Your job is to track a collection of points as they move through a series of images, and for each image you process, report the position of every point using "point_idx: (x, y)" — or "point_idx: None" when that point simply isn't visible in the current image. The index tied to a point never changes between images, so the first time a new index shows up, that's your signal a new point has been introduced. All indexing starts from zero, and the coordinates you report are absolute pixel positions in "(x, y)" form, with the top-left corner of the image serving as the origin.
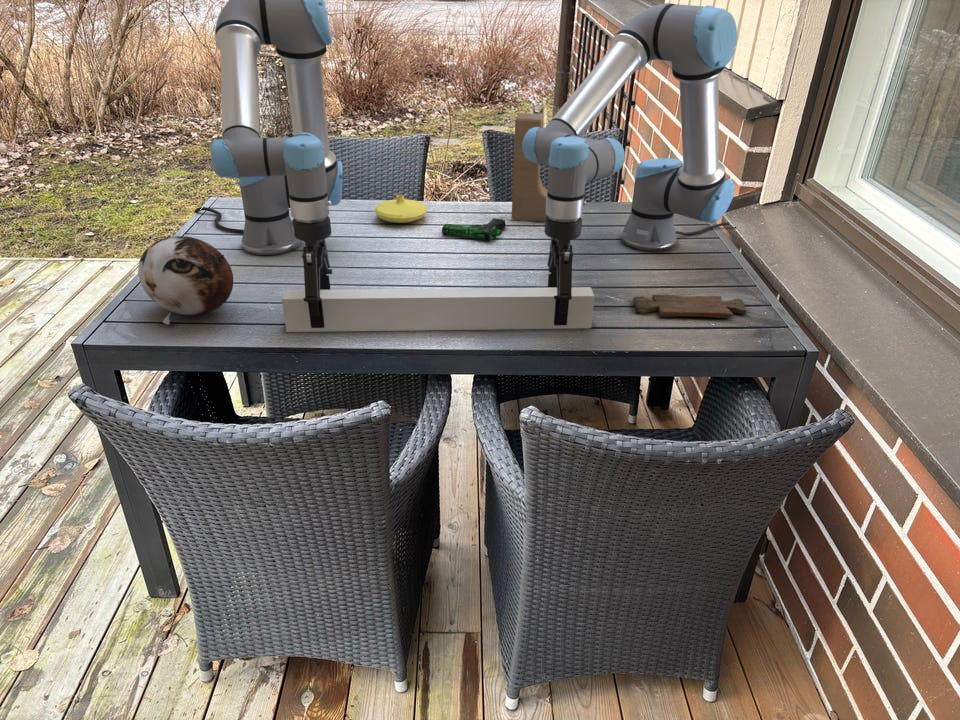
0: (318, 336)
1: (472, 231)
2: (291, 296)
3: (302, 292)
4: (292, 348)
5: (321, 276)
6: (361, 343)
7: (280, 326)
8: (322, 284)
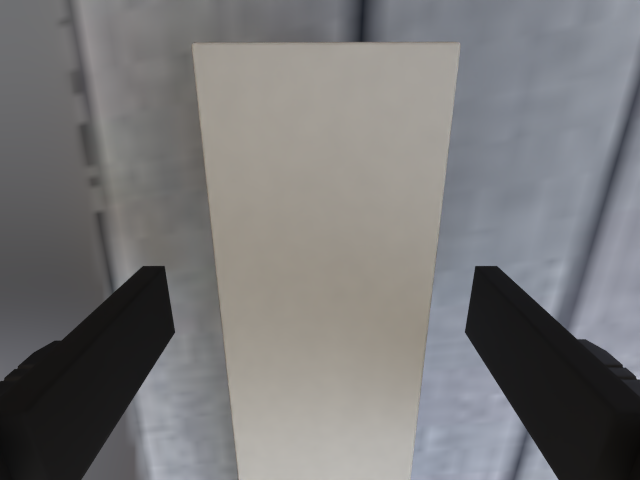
0: None
1: None
2: (267, 155)
3: (369, 254)
4: (85, 147)
5: (606, 458)
6: (178, 422)
7: (336, 21)
8: (543, 391)
